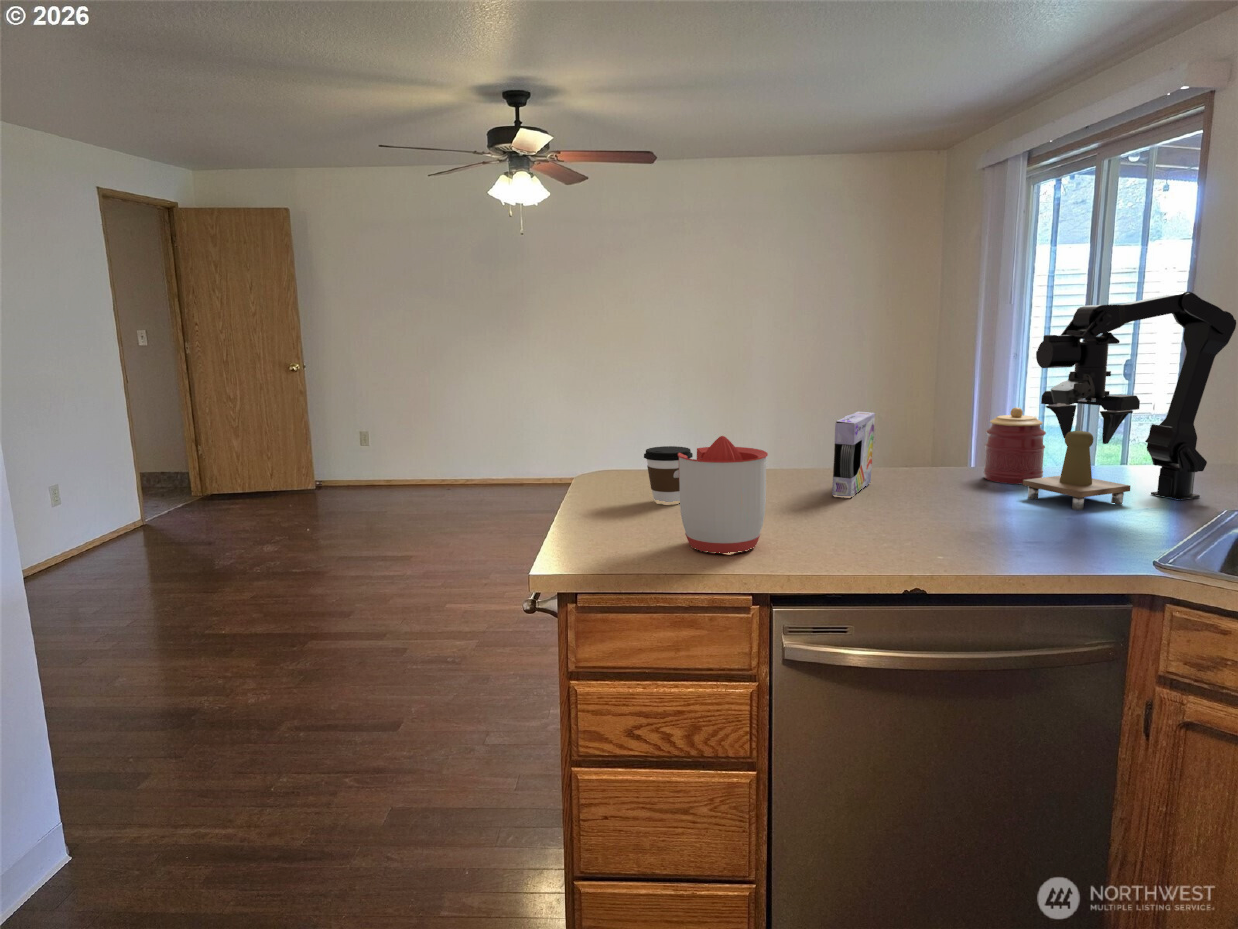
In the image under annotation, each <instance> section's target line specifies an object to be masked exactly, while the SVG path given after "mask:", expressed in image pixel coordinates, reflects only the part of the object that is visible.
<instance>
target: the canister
mask: <svg viewBox="0 0 1238 929" xmlns="http://www.w3.org/2000/svg"><path fill="white" fill-rule="evenodd" d="M1023 414H1024V413H1023V410H1022V408H1021V407H1017V406H1016V407H1015V406H1014V407H1013V408H1012V409H1011V411H1010V414H1007V415H1006V414H1005V415H1002V414H1001V415H998V416H996V417H994V418H992V419H991V420H989V423H990V424H991V426H990V427H989V428H987V429H985V433H986V434H987V440H986V442H985V444H984V446H985V449H984V450H985V454H984V467H983V477H984V479H985V480H987V481H990V482H996V483H1001V484H1008V485H1009V484H1011V485H1023V480H1027V479H1035V478H1044V477H1043V476H1044V474H1043V473H1044V470H1043V469H1044V468H1043V466H1044V457H1045V456H1044V454H1045V453H1044V452H1045V448H1046V445H1044V436H1045V435H1046V434H1047V432H1046V431H1045V430H1044V429H1042V427H1041V426H1042V425H1043V421H1041V420H1039V419H1038V418H1037V417H1036V416H1032V415H1023Z"/></svg>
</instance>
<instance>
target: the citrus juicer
mask: <svg viewBox="0 0 1238 929" xmlns="http://www.w3.org/2000/svg"><path fill="white" fill-rule="evenodd" d="M768 456H769V454H768V452H767V451H765V450H762V449H758V448H753V447H746V446H745V447H743V446H735V445H734V444H733V443H732V441H731V440H730V439H728V438H727V437H726V436H725V435H720V436H719V437H717V438H716V439H715V440H714V441H713V442H712V443H711V445H710V446H705V447H696V459H693V458H690V459H689V458H687V457H688V456H686V455H684V454H681V453H678V457H679V470H677V471H675V472H674V478H679V483H680V504H679V507H680V508H679V511H680V516H681V522H682V525H683V528H684V531H685V537H686V540H687V542H688V544H689V546H690V545H691V546H692V547H693V548H696V549H698V550H701V551H700V552H702V551H708V552H716V553H719V552H720V553H728V552H729V553H730V552H738V551H745V550H748V549H750V548H753V547H754V548H756V546H757V545H758V541H759V539H760V537H761V531H762V528H763V525H764V519H765V515H766V503H767V502H766V501H767V500H766V499H767V494H766V493H767V457H768ZM755 545H756V546H755ZM691 546H690V547H691ZM692 547H691V548H692ZM693 548H692V549H693ZM754 548H753V549H754ZM698 550H697V551H698Z"/></svg>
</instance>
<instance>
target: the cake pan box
mask: <svg viewBox="0 0 1238 929" xmlns="http://www.w3.org/2000/svg"><path fill="white" fill-rule="evenodd" d="M875 416H876V413H875V412H867V411H856V412H854V413H852V414H848V415H845V416H844V417H843V418H840V419H838V420H836V421H835V424H834V445H833V447H834V448H833V451H834V452H833V466H832V469H833V470H832V492H831V494H832V495H837V496H853V495H854V494H855V493H857V492H858V491H859V490H861V489H862V488H863V487H865V486H866V487H867V486H869V485H870V484H871V481H872V468H873V467H872V466H873V450H874V448H873V447H874V436H875V435H874V433H875ZM869 483H870V484H869ZM868 484H869V485H868ZM866 487H865V488H866ZM862 490H863V489H862ZM862 490H861V491H862ZM857 494H858V493H857Z"/></svg>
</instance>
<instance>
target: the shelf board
mask: <svg viewBox="0 0 1238 929" xmlns="http://www.w3.org/2000/svg"><path fill="white" fill-rule="evenodd" d="M1060 476H1061V475H1054V476H1046V477H1042V478H1035V479H1027V480H1023V484H1022V486H1025V487H1033V488H1037V489H1039V490H1043V491H1047V492H1051V493H1055V494H1061V495H1065V496H1066V495H1067V496H1069V497H1073V496H1074V497H1078V498H1082V497H1084V498H1088V497H1096V496H1104V495H1112V494H1113V493H1121V492H1124V493H1127V492H1128V493H1129V492H1131V485H1129V484H1125V483H1119V482H1113V481H1109V480H1102V479H1098V478H1092V484H1091V485H1069V484H1063V483H1060V482H1059V481H1060Z"/></svg>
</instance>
